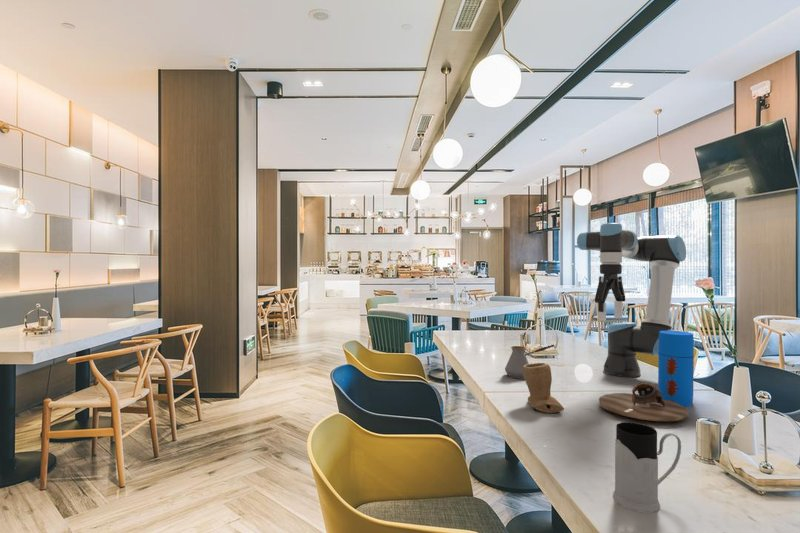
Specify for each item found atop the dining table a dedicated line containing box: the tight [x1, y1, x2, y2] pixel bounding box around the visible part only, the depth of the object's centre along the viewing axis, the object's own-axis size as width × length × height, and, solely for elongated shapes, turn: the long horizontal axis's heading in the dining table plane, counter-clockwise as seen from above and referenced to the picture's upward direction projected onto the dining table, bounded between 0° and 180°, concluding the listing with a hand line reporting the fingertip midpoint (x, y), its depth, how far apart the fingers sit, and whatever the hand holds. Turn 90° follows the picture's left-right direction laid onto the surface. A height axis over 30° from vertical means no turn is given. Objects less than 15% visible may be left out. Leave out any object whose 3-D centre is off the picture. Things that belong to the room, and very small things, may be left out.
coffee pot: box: [504, 344, 556, 379], centre depth 190 cm, size 21×12×15 cm, turn 71°
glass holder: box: [612, 421, 682, 513], centre depth 90 cm, size 9×14×15 cm, turn 95°
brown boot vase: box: [523, 362, 565, 414], centre depth 150 cm, size 15×12×15 cm
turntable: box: [598, 392, 689, 422], centre depth 145 cm, size 26×26×1 cm
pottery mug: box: [631, 382, 665, 407], centre depth 145 cm, size 12×10×8 cm
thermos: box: [657, 330, 695, 407], centre depth 157 cm, size 11×11×25 cm
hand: (610, 319), depth 165 cm, fingers open, 13 cm apart
